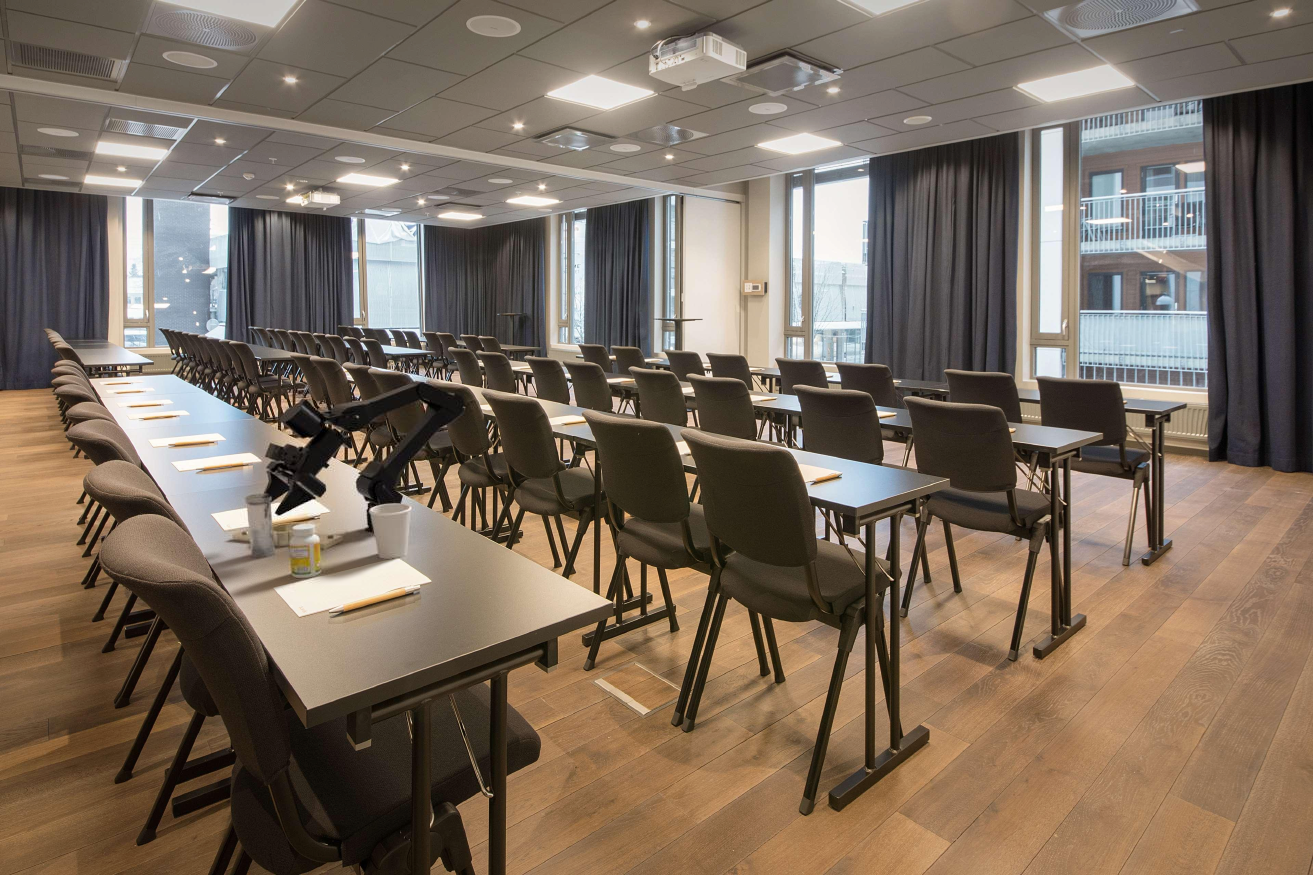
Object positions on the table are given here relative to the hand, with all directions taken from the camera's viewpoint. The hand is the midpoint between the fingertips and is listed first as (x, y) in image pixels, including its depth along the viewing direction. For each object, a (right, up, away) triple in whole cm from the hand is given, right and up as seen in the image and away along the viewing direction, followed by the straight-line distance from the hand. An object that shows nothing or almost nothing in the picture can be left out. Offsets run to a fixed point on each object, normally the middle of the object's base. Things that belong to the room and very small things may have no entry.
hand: (268, 510), depth 161 cm
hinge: (-1, -8, +10) cm, 13 cm away
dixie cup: (+26, -10, +1) cm, 27 cm away
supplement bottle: (+13, -12, -11) cm, 21 cm away
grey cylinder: (-1, -9, 0) cm, 9 cm away
